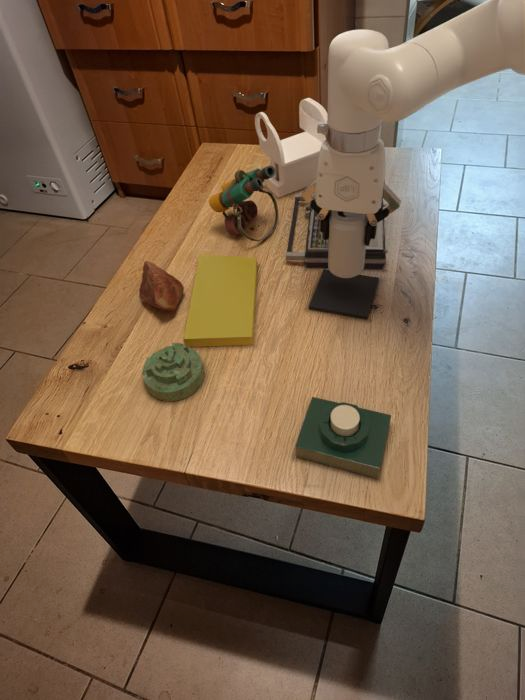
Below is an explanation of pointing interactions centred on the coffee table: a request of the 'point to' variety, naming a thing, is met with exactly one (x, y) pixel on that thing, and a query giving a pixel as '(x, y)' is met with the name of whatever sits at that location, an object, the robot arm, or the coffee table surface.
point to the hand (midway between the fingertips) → (347, 237)
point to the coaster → (344, 295)
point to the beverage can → (347, 243)
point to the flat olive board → (222, 302)
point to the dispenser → (343, 439)
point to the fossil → (160, 287)
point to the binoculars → (242, 200)
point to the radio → (319, 248)
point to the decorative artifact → (173, 372)
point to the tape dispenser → (293, 150)
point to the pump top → (344, 420)
